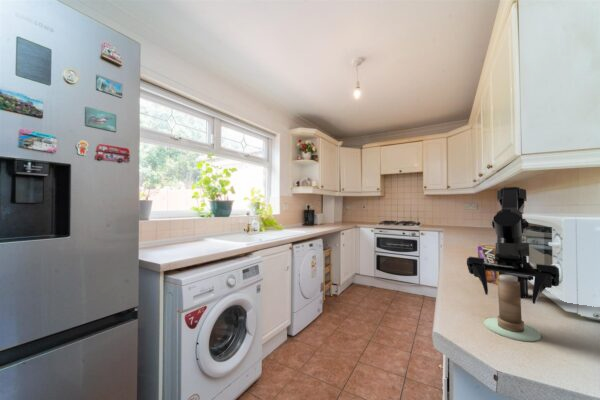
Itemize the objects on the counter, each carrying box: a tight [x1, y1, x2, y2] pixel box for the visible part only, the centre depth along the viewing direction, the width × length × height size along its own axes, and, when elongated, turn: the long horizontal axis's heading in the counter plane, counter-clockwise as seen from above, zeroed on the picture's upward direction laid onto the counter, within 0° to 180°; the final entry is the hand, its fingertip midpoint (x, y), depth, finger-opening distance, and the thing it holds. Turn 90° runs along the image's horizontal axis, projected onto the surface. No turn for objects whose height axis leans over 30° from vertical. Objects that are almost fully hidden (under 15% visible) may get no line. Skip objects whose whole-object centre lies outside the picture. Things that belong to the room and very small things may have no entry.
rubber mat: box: [483, 317, 542, 342], centre depth 62 cm, size 11×11×1 cm
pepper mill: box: [496, 274, 525, 333], centre depth 63 cm, size 5×5×13 cm
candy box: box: [477, 243, 500, 285], centre depth 100 cm, size 9×4×15 cm, turn 26°
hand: (508, 298), depth 62 cm, fingers open, 9 cm apart
